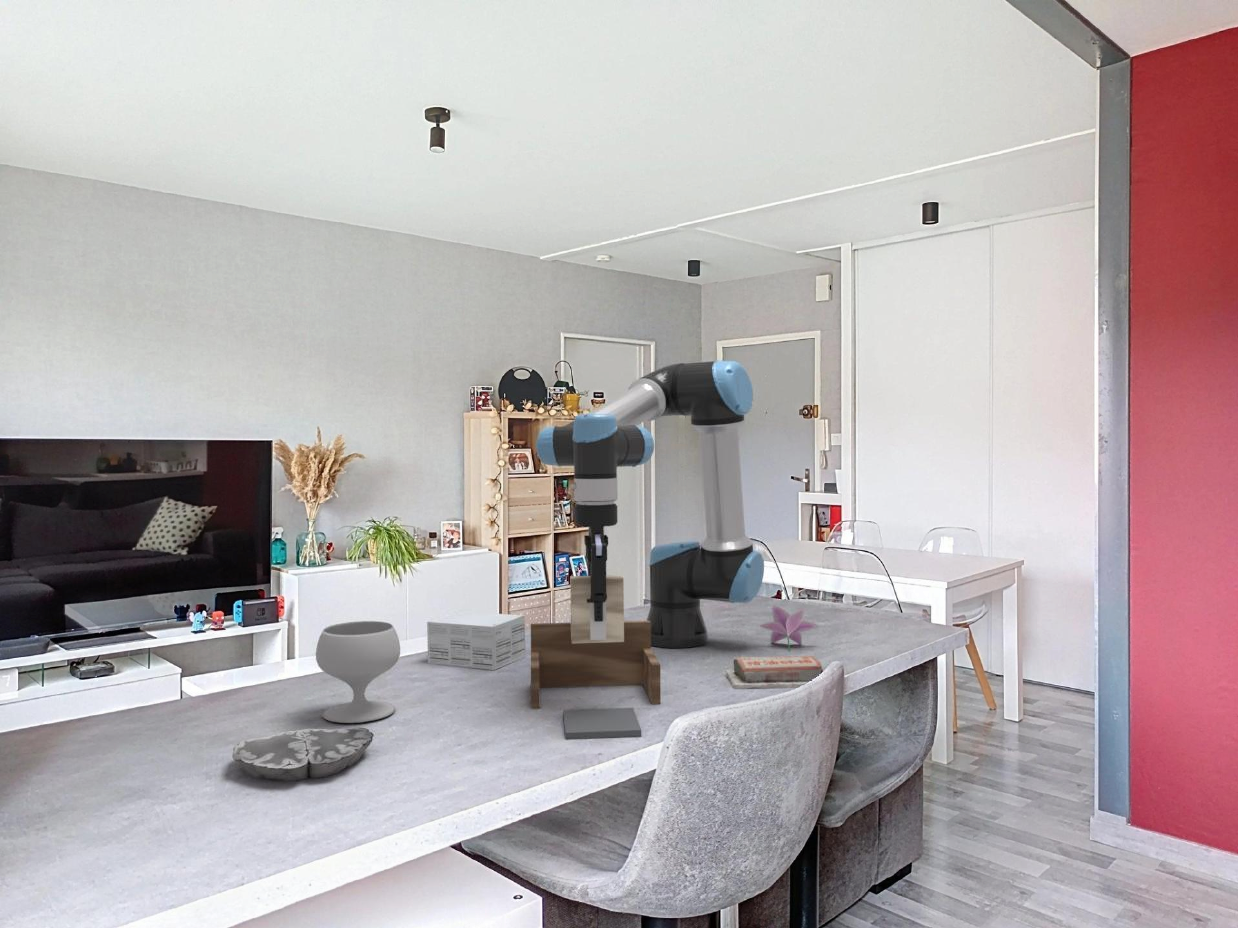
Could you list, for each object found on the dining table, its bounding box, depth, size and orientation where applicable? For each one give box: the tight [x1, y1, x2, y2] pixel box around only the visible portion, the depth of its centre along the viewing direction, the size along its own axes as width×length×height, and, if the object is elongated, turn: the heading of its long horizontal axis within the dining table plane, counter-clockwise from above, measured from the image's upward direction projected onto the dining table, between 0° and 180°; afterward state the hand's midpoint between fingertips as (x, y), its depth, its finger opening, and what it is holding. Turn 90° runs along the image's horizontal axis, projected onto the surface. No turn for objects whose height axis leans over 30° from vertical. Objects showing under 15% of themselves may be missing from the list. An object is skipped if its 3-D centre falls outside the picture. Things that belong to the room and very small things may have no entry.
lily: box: [759, 605, 820, 652], centre depth 201 cm, size 12×12×10 cm
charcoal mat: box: [562, 707, 642, 740], centre depth 147 cm, size 12×12×1 cm
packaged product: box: [725, 656, 824, 690], centre depth 173 cm, size 18×5×10 cm
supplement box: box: [426, 610, 526, 671], centre depth 192 cm, size 17×13×9 cm
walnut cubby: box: [530, 620, 662, 709], centre depth 165 cm, size 14×23×12 cm, turn 95°
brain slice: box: [232, 727, 375, 782], centre depth 129 cm, size 20×17×3 cm
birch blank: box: [569, 574, 625, 644], centre depth 155 cm, size 4×9×11 cm, turn 96°
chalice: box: [315, 620, 401, 724], centre depth 153 cm, size 14×14×15 cm
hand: (597, 635), depth 155 cm, fingers closed on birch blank, 4 cm apart
